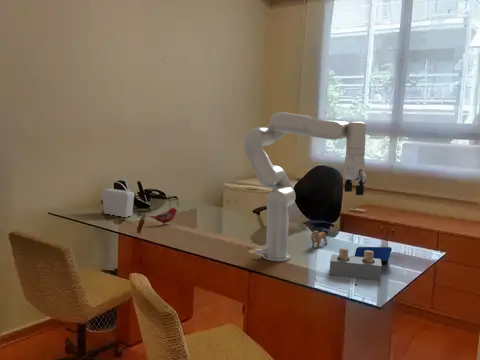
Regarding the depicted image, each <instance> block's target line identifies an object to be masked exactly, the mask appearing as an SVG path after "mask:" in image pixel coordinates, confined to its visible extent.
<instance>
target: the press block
mask: <svg viewBox="0 0 480 360" xmlns="http://www.w3.org/2000/svg"><path fill="white" fill-rule="evenodd" d="M382 266H383V264H381V259H376V258H373V263H365V262H364V257H355V255H348V261H344V260H339V254H331V256H330V260H329V276H333V277H341V278H353V279H361V280H372V281H381V280H382Z"/></svg>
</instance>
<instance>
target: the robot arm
mask: <svg viewBox="0 0 480 360" xmlns="http://www.w3.org/2000/svg"><path fill="white" fill-rule="evenodd" d="M366 127H367V124H366V123H365V122H363V121H349V122H348V121H343V120H342V121H341V120H327V119H320V118H314V117H311V116H310V115H306V114H297V113H289V112H285V111H284V112H283V111H279V112H275V113H273V114H272V115H271V117H270V120H269V123H268V124H267V125H265V126H264V127H263V126H258V127H253V128H251V129H250V130H249V131H247V133H246V135H245V137H244V139H243V149H244V153H245V155H246V157H247V159H248V161H249V164H250V165H251V167H252V169H253V171H254V174H255V175H256V178H257V180H258V182H259V184H260V185H261V186H262V187H263V188H266V189H269V188H271V191H270V192H269V193H268V194H267V196H266V201H265V202H266V210H267V211H266V213H267V214H266V216H267V217H266V243H265V244H266V246H264V247H263V248H261V249H260V248H258V249H257V248H256V249H255V254H260V255H262V258H263V259H264V260H267V261H271V262H286V261H287V262H288V261H289V260H291V256H292V255H291V254H289V253H288V242H289V221H290V220H289V219H290V217H289V210H288V207H290V206H292V205H293V204H294V203H295V201H296V192H295V189H294V187H293V185H292V183H291V182H290V179H289V177H288V175H287V173H286V172H285V170H284V169H283V168H282V167H281V166H279V165H277V164H276V165H275V164H273V163H272V161H271V160H270V157H269V155H268V154H267V152H266V150H264V146H265V147H266V146H270V145H273V144H274V143H276V142H277V141H279V140H280V139H281V138H282V137H283V136H285V135H286V134H293V135H294V134H295V135H298V136H299V135H300V136H305V137H312V138H319V139H324V140H325V139H326V140H332V141H333V140H334V141H335V140H336V141H337V140H344V139H346V144H345V146H346V148H345V158H344V165H343V178H344V193H345V192H346V193H347V192H349V193H350V192H352V191H353V182H352V181H355V183H356V185H355V195H356V196H364V194H365V192H364V189H365V188H364V187H365V184H366V179H367V174H366V171H365V169H366V168H365V167H366V165H365V163H366V162H365V154H366V152H365V151H366V132H367V130H366V129H367V128H366Z"/></svg>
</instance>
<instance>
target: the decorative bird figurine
mask: <svg viewBox="0 0 480 360" xmlns="http://www.w3.org/2000/svg"><path fill="white" fill-rule="evenodd" d="M177 212H178V210H177V208H176V207H171V208H170V209H168V210H166V211H165V212H162V213H159V214H157V215H147V216H146V217H149V218H152V219H155V220H156V221H157V222H160V223H162V224H161V226H169V225H171V223H169V222H171V221H172V220H173V219H174V218H175V215H176V213H177Z"/></svg>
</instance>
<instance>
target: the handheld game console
mask: <svg viewBox="0 0 480 360" xmlns="http://www.w3.org/2000/svg"><path fill="white" fill-rule="evenodd" d="M366 250H369V251H373V252H374V253H373V258H376V259H381V265H388V264H389V259H390V257H391V256H390V255H391V253H392V251H393V249H392V247H391V246H358V247H356V249H355V252H354V256H355V257H364V251H366Z"/></svg>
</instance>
